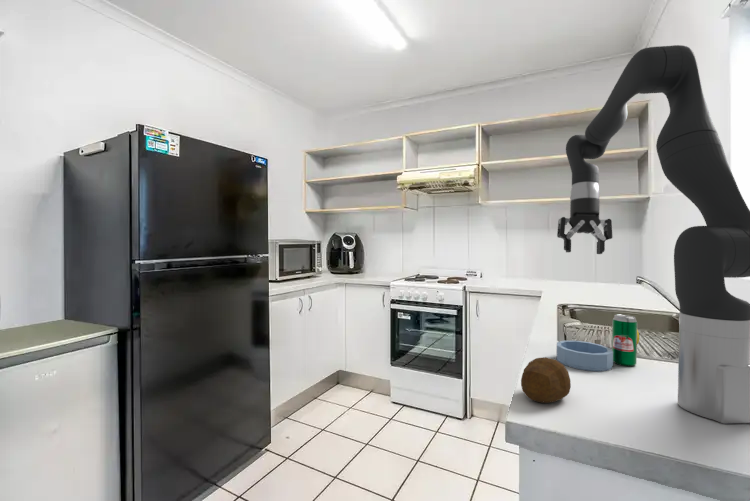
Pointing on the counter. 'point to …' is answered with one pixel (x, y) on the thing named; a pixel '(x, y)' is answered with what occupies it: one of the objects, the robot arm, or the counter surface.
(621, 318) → the soda can
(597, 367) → the bowl
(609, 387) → the counter surface
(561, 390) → the potato
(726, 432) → the counter surface
